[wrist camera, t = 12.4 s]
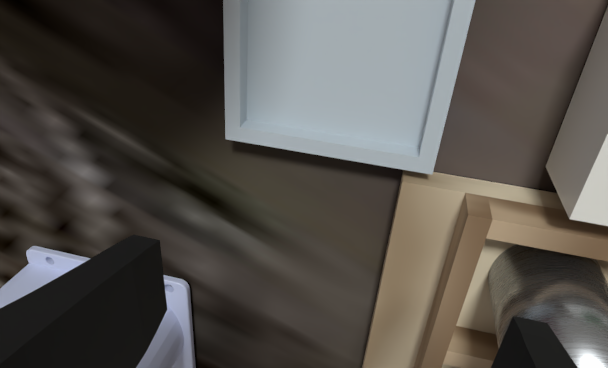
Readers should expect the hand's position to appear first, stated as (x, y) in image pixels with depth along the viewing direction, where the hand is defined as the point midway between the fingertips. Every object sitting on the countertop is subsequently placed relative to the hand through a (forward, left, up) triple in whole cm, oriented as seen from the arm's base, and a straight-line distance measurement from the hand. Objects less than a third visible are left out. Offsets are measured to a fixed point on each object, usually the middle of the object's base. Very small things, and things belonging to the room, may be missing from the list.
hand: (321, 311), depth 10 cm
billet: (+8, -5, -9) cm, 12 cm away
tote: (-2, +3, -10) cm, 10 cm away
